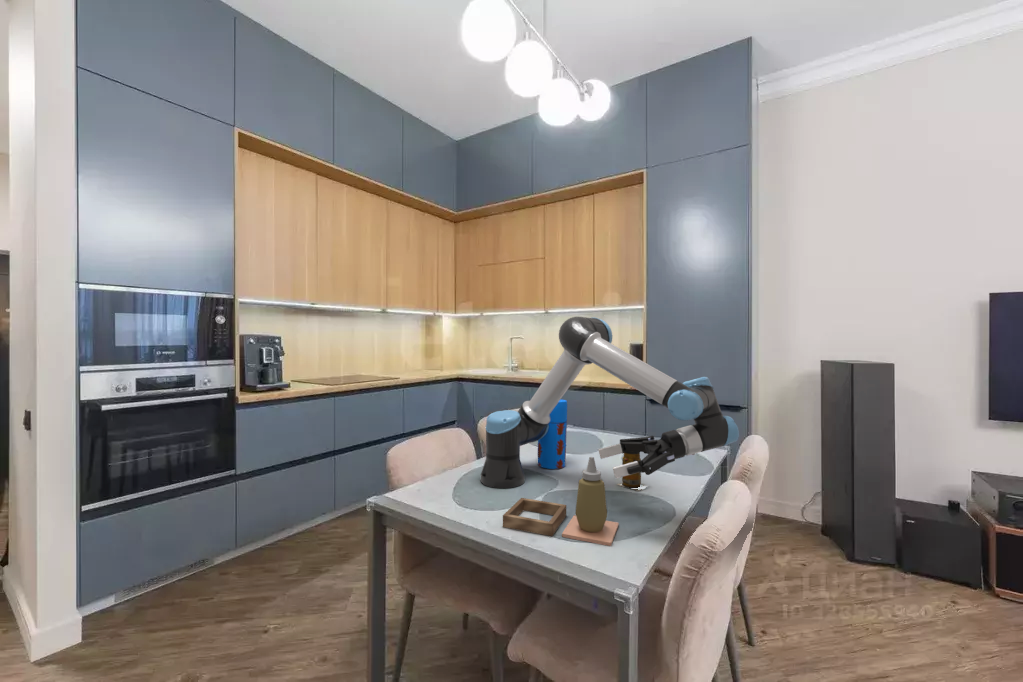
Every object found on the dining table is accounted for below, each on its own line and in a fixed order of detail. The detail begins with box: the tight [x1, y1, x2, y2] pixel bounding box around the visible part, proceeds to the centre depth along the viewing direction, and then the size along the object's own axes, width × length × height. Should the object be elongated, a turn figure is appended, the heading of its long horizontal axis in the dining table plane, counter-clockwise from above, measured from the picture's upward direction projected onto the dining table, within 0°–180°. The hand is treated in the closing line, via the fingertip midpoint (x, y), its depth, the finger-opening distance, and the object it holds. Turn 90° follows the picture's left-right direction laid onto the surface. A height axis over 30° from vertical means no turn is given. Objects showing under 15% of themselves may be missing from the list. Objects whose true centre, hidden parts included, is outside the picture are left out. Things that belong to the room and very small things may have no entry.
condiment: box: [616, 451, 643, 492], centre depth 143 cm, size 7×8×12 cm
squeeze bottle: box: [574, 456, 608, 532], centre depth 109 cm, size 8×8×18 cm
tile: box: [561, 514, 620, 547], centre depth 109 cm, size 12×12×1 cm
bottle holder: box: [502, 497, 567, 537], centre depth 115 cm, size 13×13×3 cm
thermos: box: [537, 398, 568, 470], centre depth 165 cm, size 11×11×25 cm
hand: (606, 463), depth 117 cm, fingers open, 13 cm apart
